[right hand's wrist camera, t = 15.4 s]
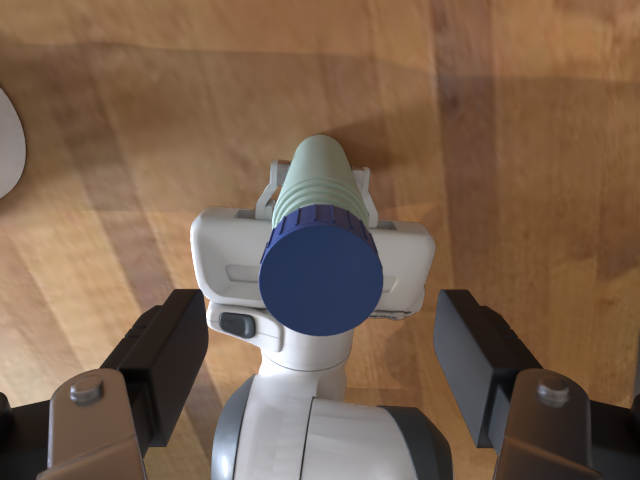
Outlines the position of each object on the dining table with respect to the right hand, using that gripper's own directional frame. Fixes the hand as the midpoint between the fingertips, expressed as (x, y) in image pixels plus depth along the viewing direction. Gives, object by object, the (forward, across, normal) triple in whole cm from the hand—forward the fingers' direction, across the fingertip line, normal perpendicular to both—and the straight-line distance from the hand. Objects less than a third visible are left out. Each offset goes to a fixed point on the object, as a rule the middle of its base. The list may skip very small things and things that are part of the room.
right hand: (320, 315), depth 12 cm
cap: (+2, 0, 0) cm, 2 cm away
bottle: (+27, 0, 0) cm, 27 cm away
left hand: (+21, 0, -1) cm, 21 cm away
